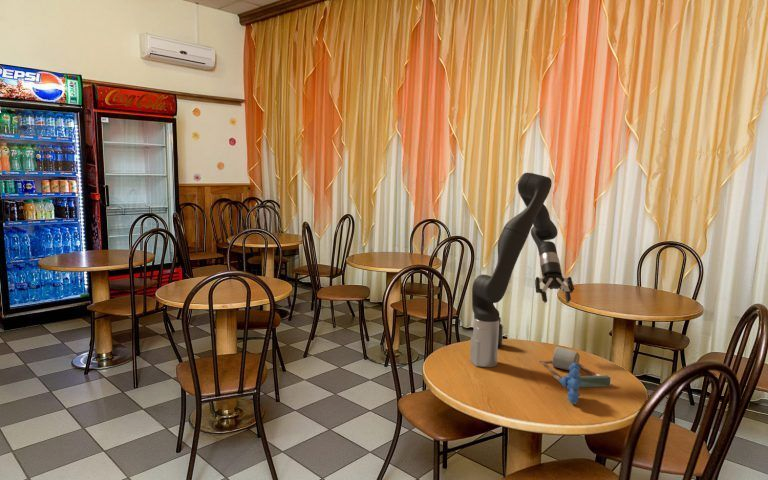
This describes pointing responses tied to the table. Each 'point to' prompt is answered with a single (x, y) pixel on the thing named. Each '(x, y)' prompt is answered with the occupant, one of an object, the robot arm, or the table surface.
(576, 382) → the grapes
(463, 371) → the table surface
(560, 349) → the ceramic mug
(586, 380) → the bay
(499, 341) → the supplement bottle
